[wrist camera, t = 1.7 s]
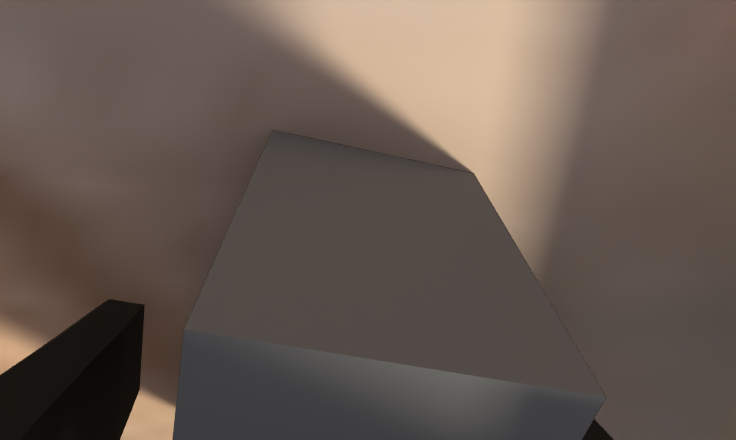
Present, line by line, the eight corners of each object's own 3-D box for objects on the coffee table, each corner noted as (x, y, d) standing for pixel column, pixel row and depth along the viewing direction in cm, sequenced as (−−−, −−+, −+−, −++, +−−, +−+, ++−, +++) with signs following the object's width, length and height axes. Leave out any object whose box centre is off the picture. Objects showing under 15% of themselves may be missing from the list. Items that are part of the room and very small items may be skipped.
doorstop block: (377, 447, 14) (395, 758, 8) (225, 426, 13) (141, 743, 8) (473, 171, 10) (606, 397, 5) (273, 128, 10) (183, 328, 4)
